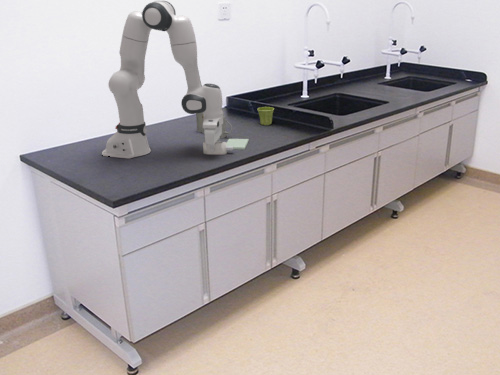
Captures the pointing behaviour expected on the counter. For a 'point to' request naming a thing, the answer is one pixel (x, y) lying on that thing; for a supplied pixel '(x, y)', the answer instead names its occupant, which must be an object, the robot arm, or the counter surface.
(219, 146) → the connector
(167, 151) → the counter surface
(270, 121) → the plant pot
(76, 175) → the counter surface
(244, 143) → the green mat
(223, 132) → the geiger counter
